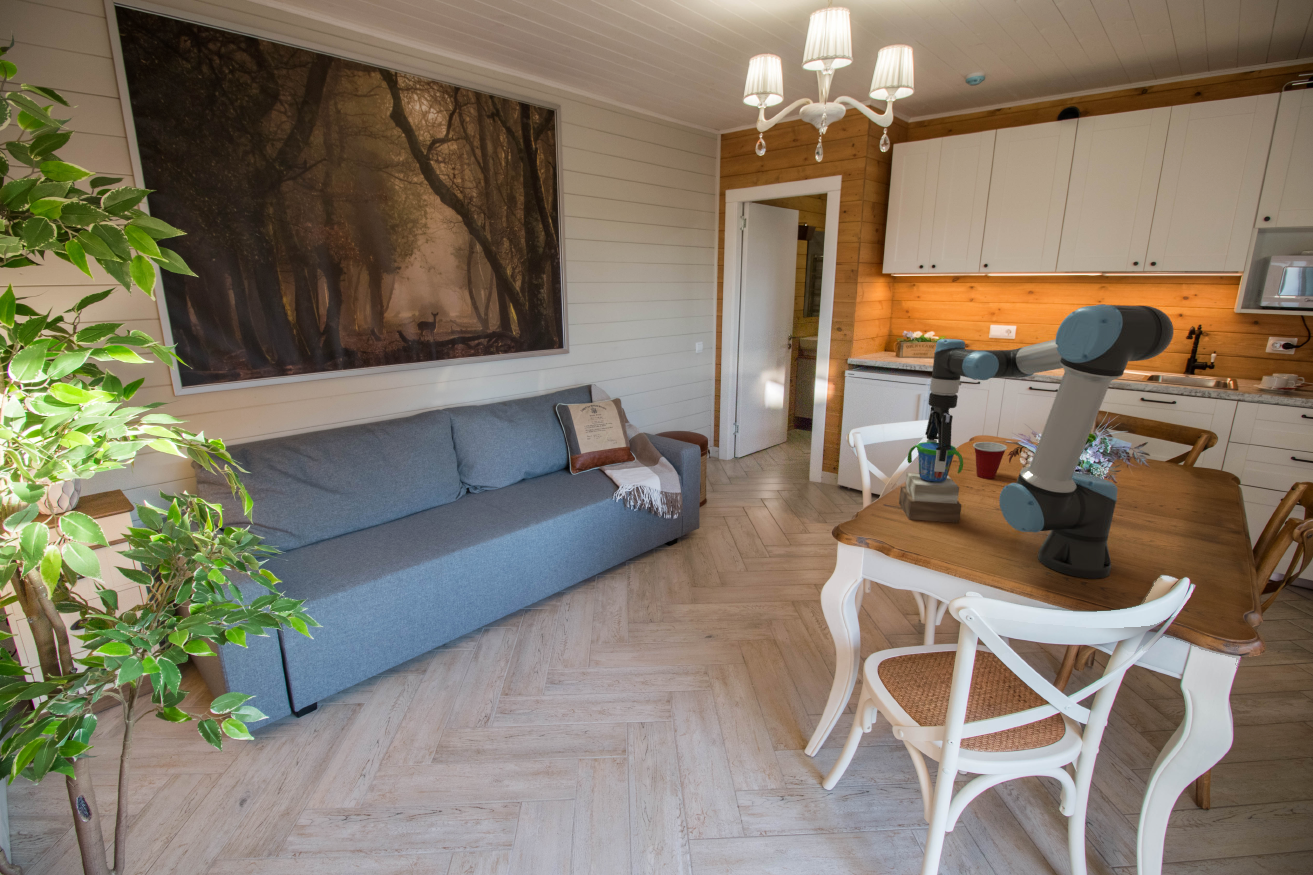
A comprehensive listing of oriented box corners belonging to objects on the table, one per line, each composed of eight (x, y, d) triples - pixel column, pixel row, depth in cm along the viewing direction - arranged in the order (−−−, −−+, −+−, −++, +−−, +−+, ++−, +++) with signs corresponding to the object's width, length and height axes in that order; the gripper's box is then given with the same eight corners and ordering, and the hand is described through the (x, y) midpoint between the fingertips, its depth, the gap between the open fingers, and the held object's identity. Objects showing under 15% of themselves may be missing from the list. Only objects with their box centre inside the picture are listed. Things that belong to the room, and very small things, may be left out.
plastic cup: (961, 473, 229) (966, 442, 226) (985, 471, 232) (990, 440, 229) (985, 482, 219) (990, 449, 216) (1009, 480, 222) (1014, 447, 219)
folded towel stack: (959, 522, 182) (964, 488, 179) (908, 519, 184) (913, 485, 181) (945, 506, 195) (950, 474, 192) (898, 502, 197) (902, 471, 195)
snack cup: (898, 475, 189) (902, 443, 187) (916, 469, 196) (920, 438, 193) (949, 488, 177) (954, 454, 175) (966, 482, 184) (971, 449, 182)
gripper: (970, 401, 168) (959, 478, 174) (946, 387, 191) (937, 456, 196) (941, 399, 170) (930, 476, 175) (920, 386, 192) (912, 454, 197)
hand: (934, 465), depth 186 cm, fingers closed on snack cup, 11 cm apart
